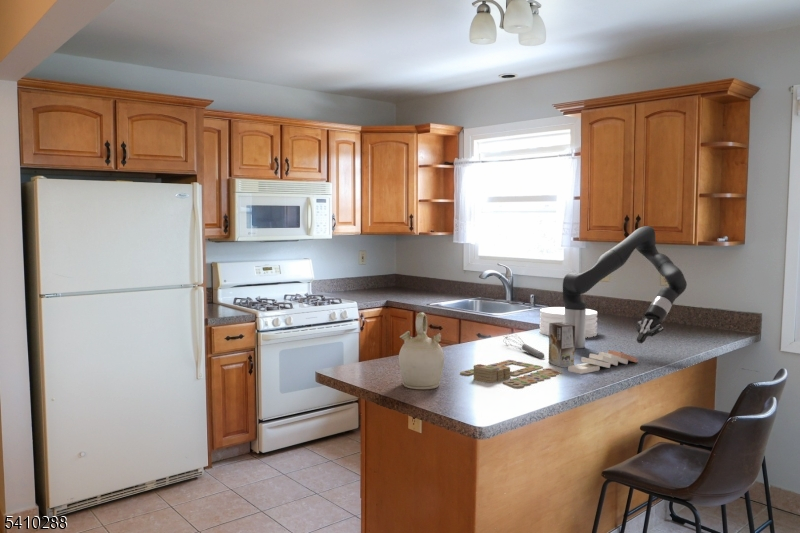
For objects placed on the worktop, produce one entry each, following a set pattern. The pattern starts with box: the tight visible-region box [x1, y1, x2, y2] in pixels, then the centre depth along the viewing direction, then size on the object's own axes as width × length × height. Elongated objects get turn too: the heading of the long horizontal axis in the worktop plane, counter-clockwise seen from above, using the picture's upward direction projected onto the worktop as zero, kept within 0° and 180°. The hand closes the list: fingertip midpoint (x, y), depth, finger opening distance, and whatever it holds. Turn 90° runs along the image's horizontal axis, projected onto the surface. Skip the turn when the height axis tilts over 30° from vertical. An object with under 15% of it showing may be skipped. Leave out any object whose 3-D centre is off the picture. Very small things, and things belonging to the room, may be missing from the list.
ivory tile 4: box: [567, 362, 601, 375], centre depth 241 cm, size 2×6×11 cm
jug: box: [398, 311, 445, 391], centre depth 216 cm, size 15×16×25 cm
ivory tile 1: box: [598, 351, 629, 365], centre depth 251 cm, size 2×6×11 cm
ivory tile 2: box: [588, 353, 619, 367], centre depth 248 cm, size 2×6×11 cm
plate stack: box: [539, 306, 598, 339], centre depth 322 cm, size 28×28×12 cm
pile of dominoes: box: [459, 359, 563, 389], centre depth 234 cm, size 35×27×6 cm
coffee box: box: [548, 322, 576, 368], centre depth 250 cm, size 9×6×16 cm
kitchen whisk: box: [503, 332, 546, 360], centre depth 275 cm, size 6×34×6 cm, turn 18°
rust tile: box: [607, 350, 638, 364], centre depth 254 cm, size 2×6×11 cm
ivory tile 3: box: [580, 356, 611, 369], centre depth 244 cm, size 2×6×11 cm
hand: (639, 342), depth 260 cm, fingers closed
